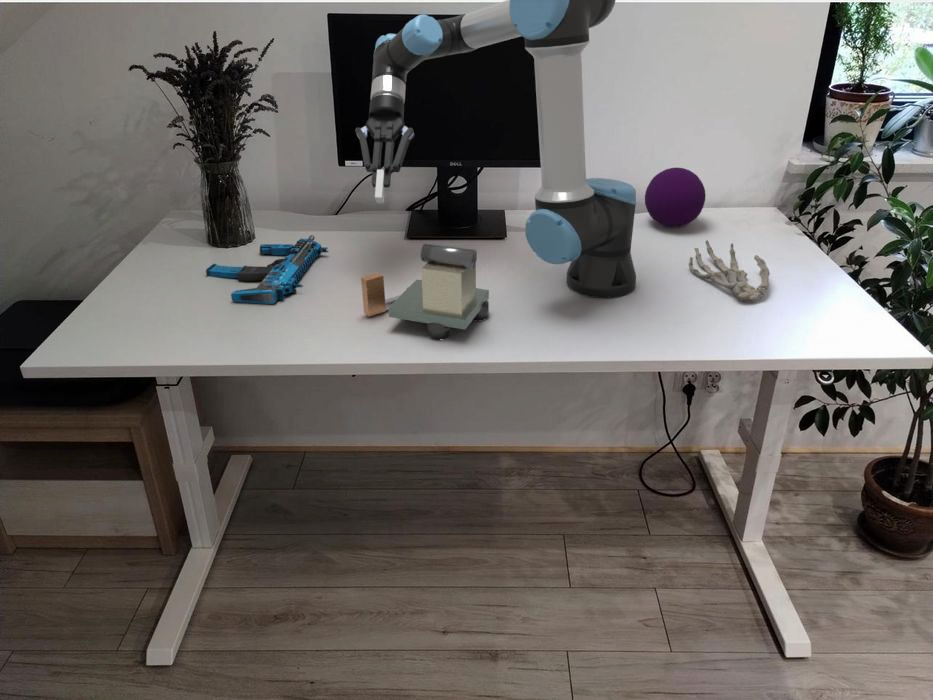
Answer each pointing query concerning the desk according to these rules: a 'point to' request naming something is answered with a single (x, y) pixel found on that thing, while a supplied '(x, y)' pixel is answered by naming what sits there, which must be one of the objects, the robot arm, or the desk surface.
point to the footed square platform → (444, 292)
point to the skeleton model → (733, 275)
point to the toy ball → (675, 197)
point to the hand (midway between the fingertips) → (379, 200)
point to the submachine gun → (272, 271)
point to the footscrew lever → (375, 294)
